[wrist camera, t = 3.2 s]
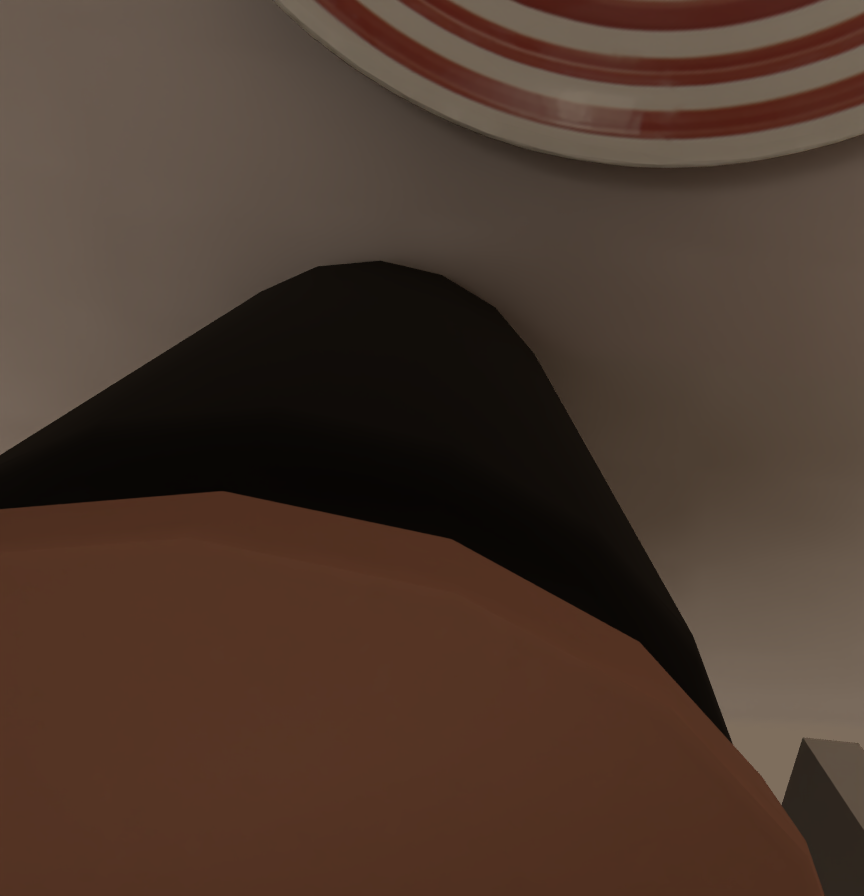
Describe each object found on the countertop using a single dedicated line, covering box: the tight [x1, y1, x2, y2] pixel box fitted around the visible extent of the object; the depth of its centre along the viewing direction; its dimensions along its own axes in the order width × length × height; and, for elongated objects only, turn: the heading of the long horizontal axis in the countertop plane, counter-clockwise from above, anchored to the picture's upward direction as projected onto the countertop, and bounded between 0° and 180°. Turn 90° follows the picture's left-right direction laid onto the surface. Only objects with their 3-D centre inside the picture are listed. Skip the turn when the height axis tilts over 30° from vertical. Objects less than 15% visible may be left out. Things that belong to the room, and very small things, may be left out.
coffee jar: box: [0, 261, 825, 896], centre depth 15 cm, size 11×11×18 cm
